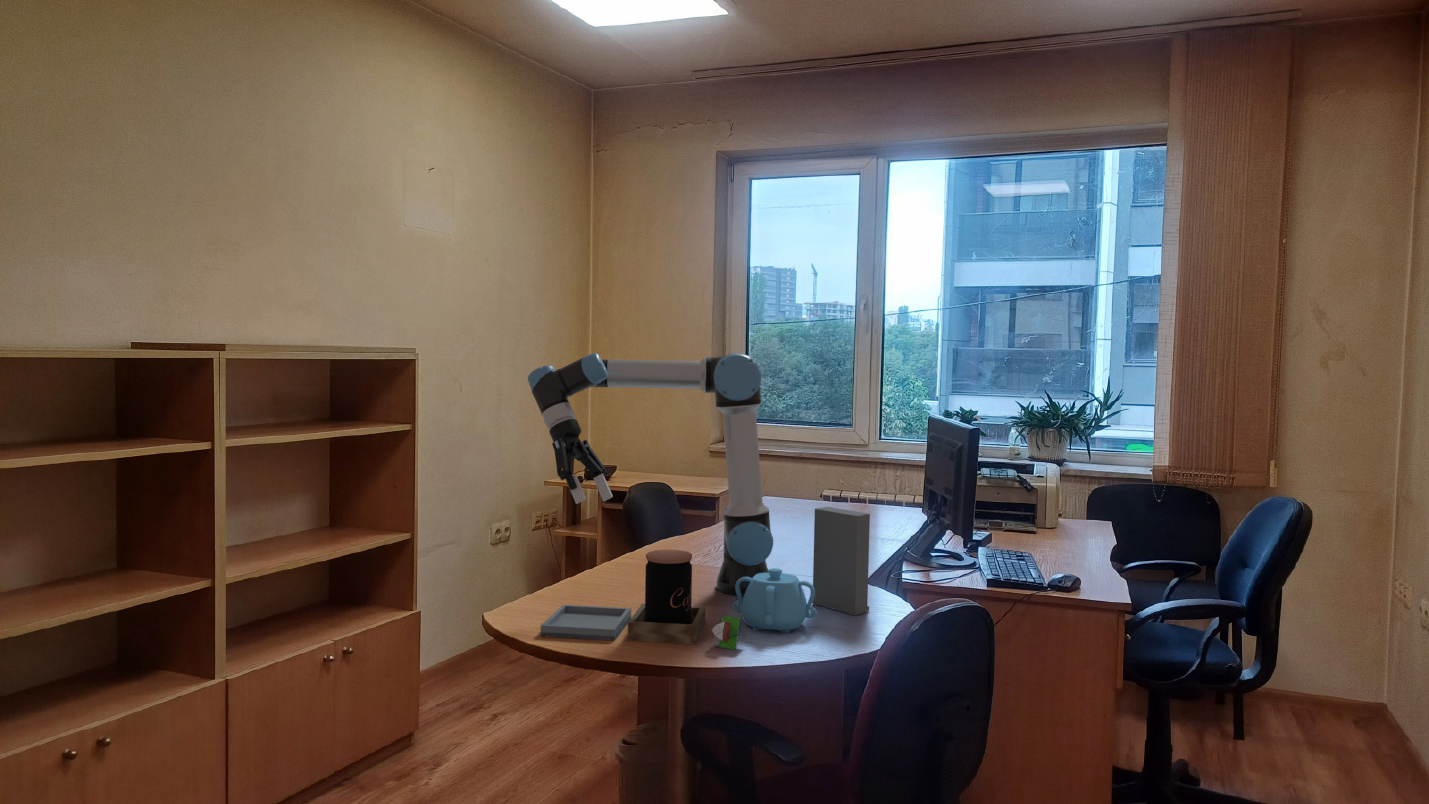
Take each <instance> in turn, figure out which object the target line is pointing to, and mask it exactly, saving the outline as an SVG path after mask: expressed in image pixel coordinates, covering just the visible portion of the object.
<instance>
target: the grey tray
mask: <svg viewBox="0 0 1429 804" xmlns="http://www.w3.org/2000/svg"><path fill="white" fill-rule="evenodd" d="M631 618H632V607H619V606H618V607H614V606H601V605H600V606H599V605H598V606H597V605H577V604H562V605H561V606H559V608H558V609H556V611H554V613H552V614H551V615H550V616H549V617H548V618H547V619H546V620H545V621H544V622H543V623H542V624H540V637H542V636H548V637H547V638H564V639H577V640H578V639H579V640H581V639H582V640H593V641H594V640H597V641H598V640H599V641H612V642H613V641H614V642H615V641H616V640H617V638H618V637H619V636H620V635H621V633H622V632H623V630H624V629H625V628H626V626H628V622H629V621H630V619H631Z"/></svg>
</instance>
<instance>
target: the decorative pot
mask: <svg viewBox="0 0 1429 804" xmlns="http://www.w3.org/2000/svg"><path fill="white" fill-rule="evenodd" d="M768 571H769V573H758V574H756V575H755V576H754V577H753V578H750V577H742V578H740V579H739V580H738V581H737V582H736V584H735V590H736V594H737V595H736V598H737V599H738V600H735V601H734V603H733V604H732V608H733V610H734V611H735V612H737V613H740V614H741V617H742V619H743V620H744V622H745V624H746V625H748V626H750V627H753V628H752V629H753V630H754V631H764V630H765V629H766V630H779V632H780V633H786V634H787V633H791V632H792V630H795V629H798V628H799V627H801V626H802V624H803V623H804V621H805V620H806V618H807V619H813V618H815V617H816V616H817V614H818V613H817V609H816V608H815V607H813V606H812V605H813V604H812V602H813V599H814V596H815V588H814V586H813V583H811V582H809V581H808V580H801V581H800V579H799V578H798V577H797V576H796V575H794V574H788V573H783V570H782V569H780V568H776V567H775V568H773V567H772V568H769V569H768ZM743 581H748V582H750V584H749V586H748V588H747V590H746V592H745V595H742V594H741V591H740V583H741V582H743ZM803 586H804V587H807V588H808V589H810V593H809V594H810V595H809V599H808V601H807V598H806V594H805V591H804V589H803ZM738 605H739V606H738ZM810 611H812V613H810Z"/></svg>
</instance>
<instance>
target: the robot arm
mask: <svg viewBox="0 0 1429 804" xmlns="http://www.w3.org/2000/svg"><path fill="white" fill-rule="evenodd" d="M761 381H762V373H761V369H760V367H759V365H758V363H757V362H756V360H754V358H752V357H751V356H749V355H748V354H745V353H741V352H740V353H739V352H733V353H729V354H725V355H723V356H722V355H721V356H714V357H713V356H711V357H710V356H707V357H705V356H704V357H703V358H702V359H701V360H661V359H660V360H659V359H658V360H657V359H654V360H652V359H651V360H649V359H642V360H641V359H602V358H601V356H600V355H599V354H598V352H597V353H596V352H593V353H590V354H587V355H584V356H582V358H579V359H577V360H575V361H573V362H571V363H569V364H568V365H564V366H563V367H560V368H559V369H555V367H554V366H553V365H543V366H541V367H537V368H535V369H534V370H532V371H531V372H530V373H529V374H528V376H527V383H528V384H529V387H530V389H531V394H532V395H533V398H534V400H535V402H536V405H537V406H538V409H539V411H540V413H541V416H542V417H543V423H544V424H546V427H547V429H549V431H548V433H549V435H550V437H551V439H552V443H551V445H552V448H553V450H554V451H553V452H554V456H555V457H554V458H555V464H556V472H557V476H558V477H559V479H560V480H561V481H564V480H565V482H566V484H567V487H568V488H569V490H570V493H571V495H572V497H573V500H574V502H575V504H576V505H577V504H579V503H581V502H583V501H585V500H587V497H586V494H585V492H584V490H583V487H582V485H581V483H580V481H579V478H578V476H577V474H574V468H575V460H576V461H578V462H580V463H581V464H582V465H583V466H584V467H585V468H586V469H587V470H588V471H589V472H590V474H591V475H592V476H593V478H592V479H593V481H594V484H595V486H596V488H597V490H598V493H599V495H600V497H601V499H602V502H606V501H608V500H610V499H612V498H613V497H614V496H613V494H612V491H611V489H610V486H609V485H608V482H607V480H606V478H605V474H606V473H607V469H606V467H605V465H604V464H603V463H602V461H600V459H599V457H598V456H597V454H596V453H595V451H594V450H593V449H592V448H591V446H590V443H589V441H588V440H587V439H583V440H581V439H580V437H579V436H580V435H581V434H582V429H581V426H580V424H579V422H578V419H576V415H575V413H574V410H573V408H572V406H571V403H570V402H569V399H568V398H569V397H572V396H574V395H576V394H578V393H579V392H583V391H584V390H587V389H589V388H628V389H629V388H631V389H633V388H634V389H640V388H641V389H684V390H685V389H688V390H689V389H695V390H696V389H697V390H698V389H699V390H701V391H702V392H703V393H705V394H706V393H710V394H714V395H715V398H714V399H715V408H716V409H717V410H718V411H720V413H721V414H722V422H723V423H722V424H723V436H724V449H725V460H726V473H727V475H726V476H727V478H726V479H727V488H728V489H727V491H728V503H729V505H727V506H725V508H724V512H723V513H724V514H723V561H722V564H721V567H720V569H719V572H718V573H719V574H718V575H717V579H716V589H717V591H719V592H722V593H725V594H729V595H734V596H735V595H736V596H737V594H736V590H735V584H736V582H737V581H738V580H739V579H740V578H742V577H750V578H753V577H754V576H755V575H756V574H758V573H769V571H768V570H769V569H768V565H767V564H768V563H767V562H766V561H767V559H768V558H769V557H770V555H771V553H772V551H773V547H774V538H773V533H772V530H771V519H770V509H769V507H767V506H766V505H765V503H763V490H762V489H763V488H762V479H761V477H762V476H761V475H762V474H761V464H760V453H759V452H760V451H759V450H760V448H759V439H758V438H759V436H758V424H757V410H758V409H760V407H761V405H762V396H761V383H762V382H761ZM749 584H750V582H748V581H743V582H741V583H740V591H741V594H742V596H744V595H745V592H746V590H747V588H748V586H749Z"/></svg>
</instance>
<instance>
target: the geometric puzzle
mask: <svg viewBox="0 0 1429 804" xmlns="http://www.w3.org/2000/svg"><path fill="white" fill-rule="evenodd" d="M719 620H721V621H720V622H719V623H717V622H716V624H715V625H714V626H713V627H712V628H711V629H710V630H711V632H712V634H713V636H714V637H716V638H717V639H718V641H715V642H716V644H717V647H718V648H722V649H723V648H724V649H729V650H735V651H736V650H737V648H738V646H740V645H741V643H739V640H741V638H740V637H741V635H742V636H743V638H745V637H746V636H748V635H747V633H746V632H745V631H743V630H741V627H740V624H741V625H742V626H743V629H745V628H744V624H743V623H741V617H734V616H727V615H722V616H721V617H720V618H719ZM739 631H740V632H739ZM741 632H742V633H741ZM738 635H739V636H738ZM742 641H744V639H742ZM742 641H741V642H742ZM738 643H739V645H738Z"/></svg>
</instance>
